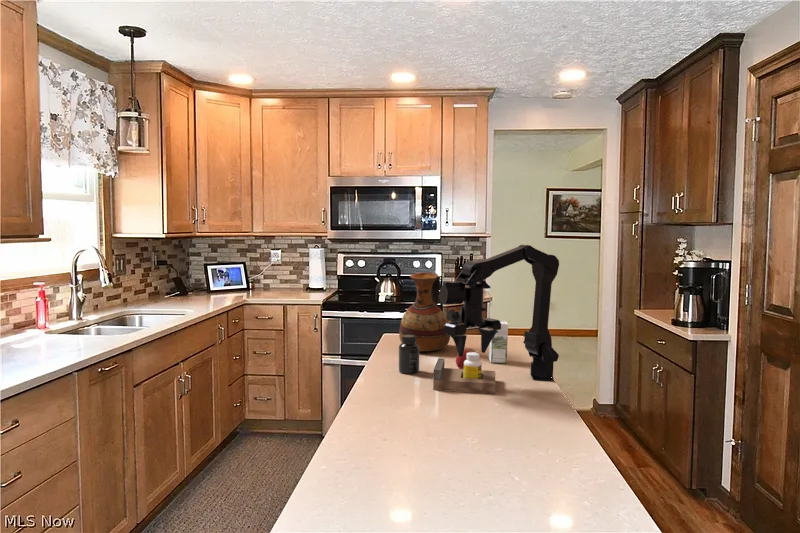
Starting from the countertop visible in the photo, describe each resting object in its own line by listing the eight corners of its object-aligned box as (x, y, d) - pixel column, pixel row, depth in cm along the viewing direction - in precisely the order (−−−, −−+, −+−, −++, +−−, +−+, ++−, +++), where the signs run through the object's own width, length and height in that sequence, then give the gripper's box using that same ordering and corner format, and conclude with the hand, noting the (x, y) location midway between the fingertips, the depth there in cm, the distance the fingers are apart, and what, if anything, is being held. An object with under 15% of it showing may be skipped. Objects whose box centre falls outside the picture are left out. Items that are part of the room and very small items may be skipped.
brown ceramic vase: (390, 351, 212) (392, 273, 209) (410, 341, 230) (411, 268, 228) (439, 357, 204) (441, 275, 202) (456, 346, 222) (457, 271, 220)
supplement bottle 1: (419, 369, 187) (420, 334, 186) (418, 374, 180) (419, 338, 179) (399, 368, 187) (400, 333, 186) (397, 374, 181) (397, 337, 180)
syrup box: (504, 359, 202) (505, 320, 200) (507, 363, 196) (508, 323, 194) (488, 359, 202) (489, 319, 200) (490, 363, 196) (491, 322, 195)
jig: (494, 380, 175) (495, 361, 175) (495, 393, 162) (495, 373, 161) (437, 376, 178) (438, 358, 178) (433, 389, 164) (433, 369, 164)
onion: (467, 375, 181) (468, 350, 180) (452, 372, 184) (452, 348, 184) (476, 371, 185) (476, 347, 185) (461, 368, 189) (461, 345, 188)
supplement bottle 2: (480, 388, 166) (481, 356, 166) (462, 387, 167) (463, 355, 167) (481, 383, 172) (482, 352, 171) (463, 382, 173) (464, 351, 172)
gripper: (477, 298, 179) (476, 345, 181) (432, 302, 169) (431, 352, 170) (503, 302, 170) (501, 352, 172) (456, 307, 159) (455, 360, 161)
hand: (472, 354), depth 169 cm, fingers open, 9 cm apart
